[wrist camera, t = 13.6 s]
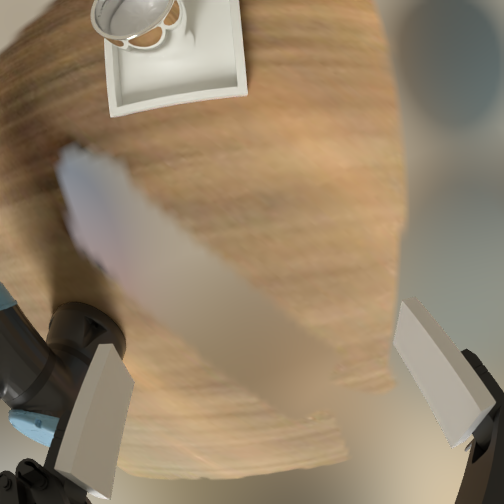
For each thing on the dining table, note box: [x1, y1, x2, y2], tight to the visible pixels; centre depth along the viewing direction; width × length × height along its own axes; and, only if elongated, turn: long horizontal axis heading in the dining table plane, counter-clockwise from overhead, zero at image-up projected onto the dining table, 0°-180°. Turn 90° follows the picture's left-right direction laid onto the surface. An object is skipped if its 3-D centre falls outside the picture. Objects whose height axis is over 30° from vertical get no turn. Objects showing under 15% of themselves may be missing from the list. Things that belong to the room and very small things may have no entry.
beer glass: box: [91, 0, 194, 66], centre depth 20 cm, size 7×7×15 cm
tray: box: [104, 0, 248, 117], centre depth 27 cm, size 16×16×3 cm
